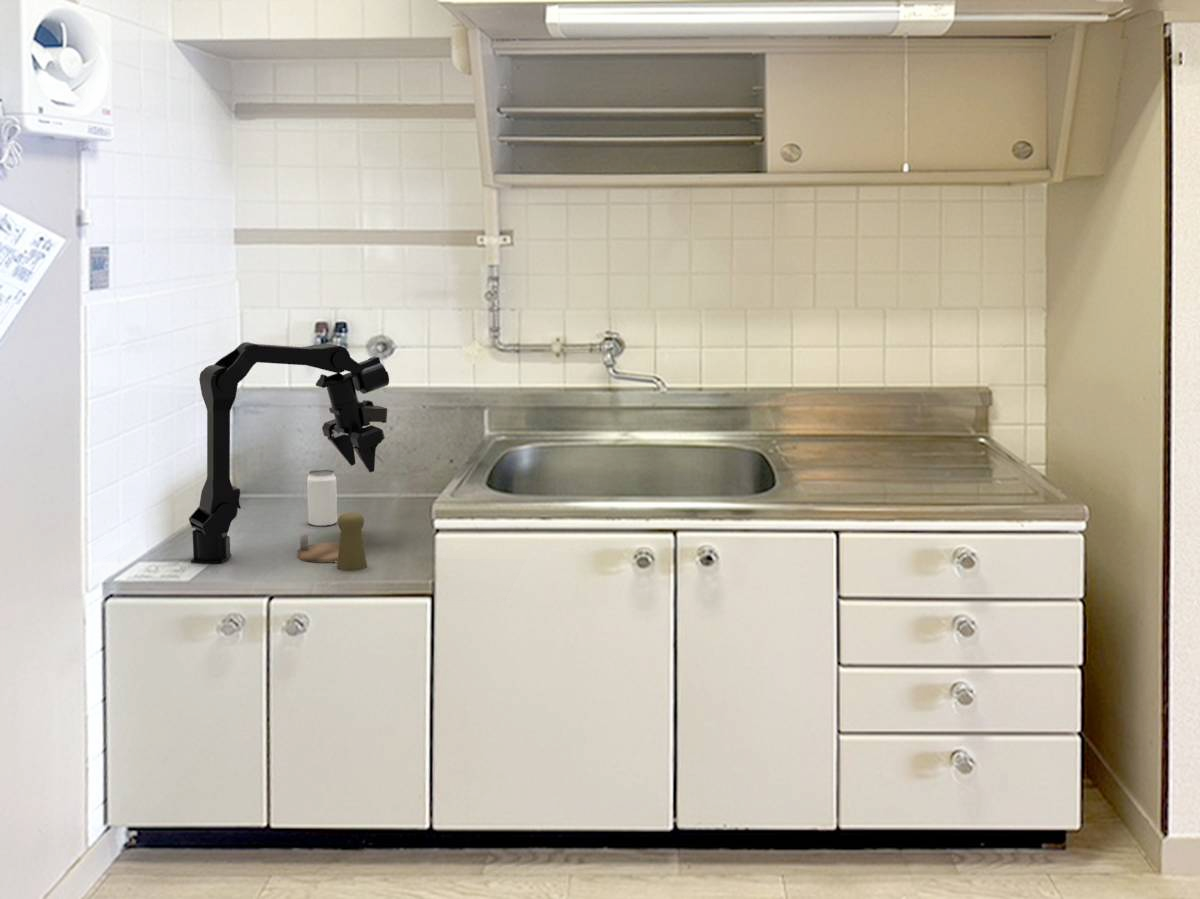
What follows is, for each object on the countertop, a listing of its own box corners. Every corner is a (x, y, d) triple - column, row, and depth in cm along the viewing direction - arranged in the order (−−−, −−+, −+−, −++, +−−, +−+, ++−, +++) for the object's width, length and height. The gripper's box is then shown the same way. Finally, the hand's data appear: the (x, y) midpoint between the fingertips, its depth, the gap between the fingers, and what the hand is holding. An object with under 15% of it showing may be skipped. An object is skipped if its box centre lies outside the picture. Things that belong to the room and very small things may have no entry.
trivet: (289, 561, 293) (289, 542, 292) (307, 546, 305) (307, 528, 305) (352, 563, 292) (351, 544, 291) (367, 548, 304) (367, 529, 304)
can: (343, 522, 327) (342, 471, 325) (323, 528, 322) (322, 475, 320) (322, 518, 331) (321, 468, 328) (302, 524, 325) (300, 472, 323)
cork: (353, 561, 294) (352, 508, 292) (373, 566, 290) (372, 513, 288) (330, 566, 289) (329, 513, 287) (350, 572, 285) (349, 518, 283)
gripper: (397, 394, 302) (414, 462, 307) (358, 383, 317) (375, 449, 322) (350, 411, 297) (369, 480, 302) (313, 400, 312) (331, 466, 317)
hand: (362, 468), depth 311 cm, fingers open, 9 cm apart
